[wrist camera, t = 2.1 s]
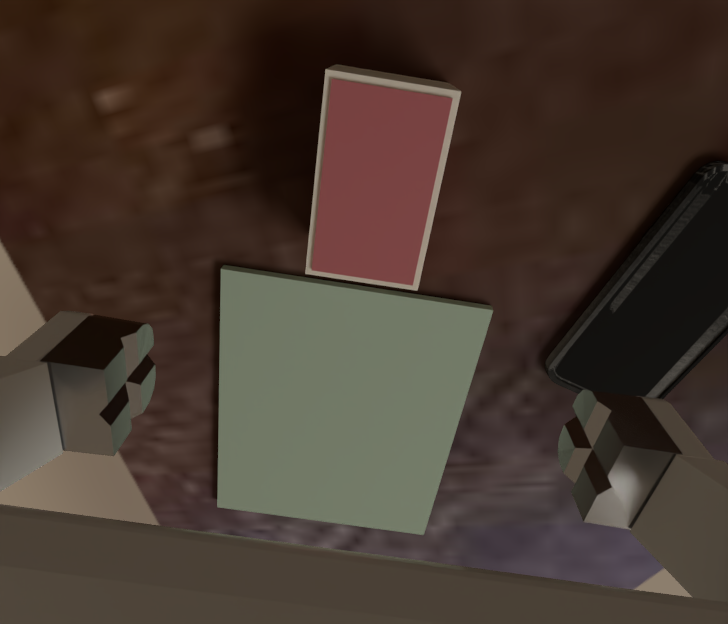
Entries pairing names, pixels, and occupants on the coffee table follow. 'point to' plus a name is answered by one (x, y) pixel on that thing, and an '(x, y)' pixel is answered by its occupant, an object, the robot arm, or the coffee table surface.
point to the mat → (339, 397)
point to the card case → (378, 174)
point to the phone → (657, 301)
